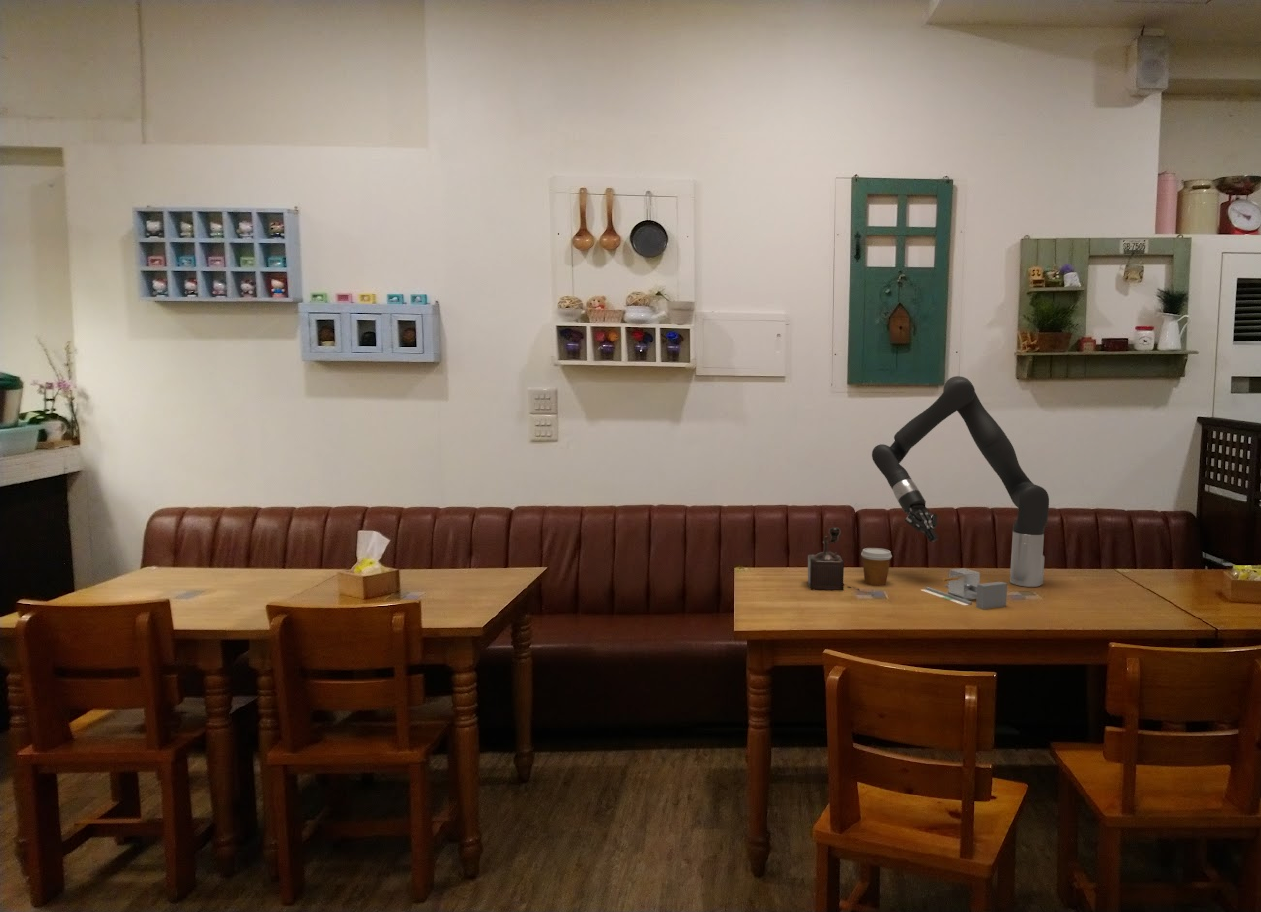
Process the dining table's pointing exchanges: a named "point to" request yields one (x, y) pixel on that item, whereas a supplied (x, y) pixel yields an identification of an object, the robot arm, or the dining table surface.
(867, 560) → the disposable coffee cup
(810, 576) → the manual coffee grinder
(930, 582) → the dining table surface
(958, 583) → the gauge carriage
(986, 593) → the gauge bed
